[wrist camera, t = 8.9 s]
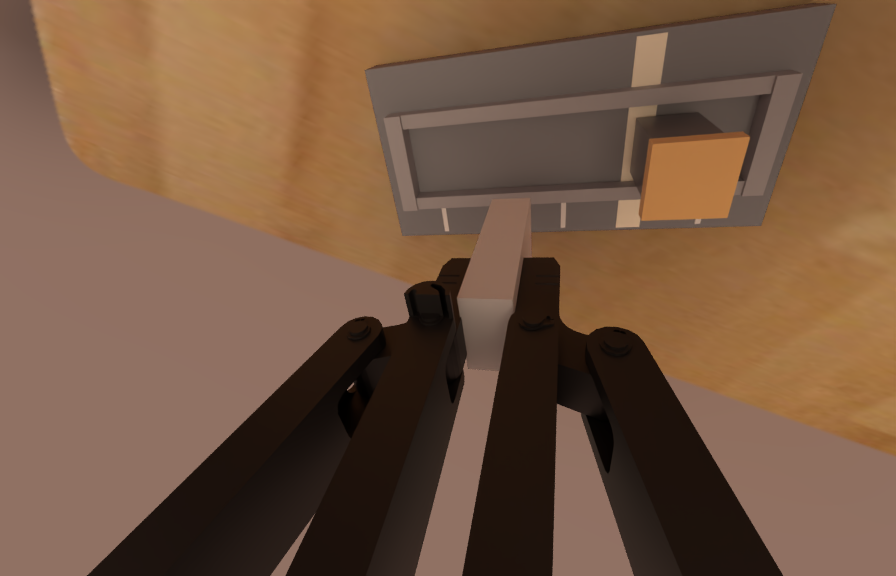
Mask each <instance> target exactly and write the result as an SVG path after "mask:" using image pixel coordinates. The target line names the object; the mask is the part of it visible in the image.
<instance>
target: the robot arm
mask: <svg viewBox="0 0 896 576" xmlns="http://www.w3.org/2000/svg"><path fill="white" fill-rule="evenodd" d="M559 293H560V265H559V264H558V263H557V261H556V260H555V259H554V258H532V246H531V201H530V198H515V199H492V201H491V204H490V207H489V210H488V213H487V215H486V218H485V221H484V224H483V227H482V229H481V232H480V235H479V238H478V240H477V243H476V246H475V249H474V252H473V254H472V257H471V258H452V259H451V260H449V261H448V262H447V263H446V264H445V265H443V267H442V269H441V271H440V273H439V277H438V278H437V280H436V281H426V282H421V283H418V284H415V285H414V286H412V287H410V288H409V289H408V290H407V291H406V292H405V293H404V296H405V300H406V304H407V308H408V312H409V316H410V317H409V319H408V321H407V322H406V323H404V324H400V325H395V326H389V327H384V328H383V327H382V324H381V323H380V321H379V320H378V319H376V318H374V317H366V316H365V317H359V318H355V319H353V320H351V321H348V322H347V323H346V324H344V325H343V326H342V327H340V329H338V330H337V331H336V333H334V334H333V335H332V336H331V337H330V338H329V339H328V340H327V341H326V342H325V343H324V344H323V345H322V346H321V347H320V348H319V349H318V350H317V351H316V352H315V353H314V354H313V355H312V356H311V357H310V358H309V359H308V360H307V361H306V362H305V363H304V364H303V365H302V366H301V367H300V368H299V369H298V370H297V371H296V372H295V373H294V374H293V375H291V377H289V378H288V379H287V380H286V381H285V382H284V383H283V384H282V385H281V386H280V387H279V388H278V389H277V390H276V391H275V392H274V393H273V394H272V395H271V396H270V397H269V398H268V399H267V400H266V401H265V402H264V403H263V404H262V405H261V406H260V407H259V408H258V409H257V410H256V411H255V412H254V413H253V414H252V415H251V416H250V417H249V418H248V419H247V420H246V421H244V423H243V424H241V425H240V426H239V428H237V429H236V430H235V431H234V432H233V433H232V434H231V435H230V436H229V437H228V438H227V439H226V440H225V441H224V442H223V443H222V444H221V445H220V446H219V447H218V448H217V449H216V450H215V451H214V452H213V453H212V454H211V455H210V456H209V457H208V458H207V459H206V460H205V461H204V462H203V463H202V464H201V465H200V466H199V467H198V468H197V469H196V470H194V471H193V473H192V474H190V475H189V476H188V477H187V478H186V479H185V480H184V481H183V482H182V483H181V484H180V485H179V486H178V487H177V488H176V489H175V490H174V491H173V492H172V493H171V494H170V495H169V496H168V497H167V498H166V499H165V500H164V501H163V502H162V503H161V504H160V505H159V506H158V507H157V508H156V509H155V510H154V511H153V512H152V513H151V514H150V515H149V516H148V517H147V518H145V519H144V521H142V523H140V524H139V525H138V526H137V527H136V528H135V529H134V530H133V531H132V532H131V533H130V534H129V535H128V536H127V537H126V538H125V539H124V540H123V541H122V542H121V543H120V544H119V545H118V546H117V547H116V548H115V549H114V550H113V551H112V552H111V553H110V554H109V555H108V556H107V557H106V558H105V559H104V560H103V561H102V562H101V563H100V564H99V565H98V566H97V567H95V568H94V569H93V571H92V572H91V573H89V574H88V575H87V576H270V575H271V574H272V572H273V571H274V570H275V568H276V567H277V565H278V564H279V563H280V561H281V560H282V558H283V557H284V556H285V554H286V553H287V552H288V550H289V549H290V547H291V546H292V544H293V543H294V542H295V540H296V539H297V538H298V536H299V535H300V533H301V532H302V531H303V529H304V528H305V526H306V525H307V524H308V522H309V521H310V520H311V518H312V517H313V515H314V514H315V515H314V517H313V519H312V522H311V524H310V526H309V528H308V530H307V532H306V534H305V536H304V538H303V540H302V543H301V544H300V546H299V549H298V551H297V553H296V555H295V557H294V559H293V561H292V563H291V565H290V568H289V570H288V572H287V574H286V576H415V572H416V568H417V564H418V560H419V556H420V552H421V549H422V544H423V541H424V537H425V533H426V529H427V525H428V521H429V517H430V514H431V510H432V506H433V502H434V498H435V494H436V490H437V486H438V483H439V479H440V475H441V471H442V467H443V463H444V459H445V456H446V451H447V448H448V444H449V440H450V436H451V432H452V428H453V424H454V420H455V417H456V413H457V409H458V405H459V401H460V397H461V393H462V390H463V386H464V371H463V367H464V363H465V359H467V366H468V369H479V370H491V371H499V375H498V381H497V386H496V392H495V398H494V403H493V408H492V414H491V419H490V425H489V431H488V436H487V442H486V447H485V453H484V458H483V464H482V470H481V475H480V480H479V486H478V492H477V497H476V502H475V508H474V513H473V519H472V525H471V530H470V536H469V541H468V547H467V553H466V558H465V563H464V569H463V574H462V576H552V566H553V529H554V489H555V452H556V413H557V404H560V405H562V406H565V407H567V408H570V409H572V410H575V411H577V412H580V413H581V416H582V419H583V423H584V426H585V429H586V432H587V435H588V438H589V441H590V444H591V447H592V450H593V452H594V456H595V459H596V462H597V465H598V468H599V471H600V474H601V477H602V480H603V483H604V486H605V489H606V492H607V495H608V498H609V501H610V504H611V507H612V510H613V513H614V516H615V519H616V523H617V525H618V529H619V532H620V534H621V538H622V540H623V543H624V547H625V550H626V553H627V556H628V559H629V561H630V565H631V567H632V571H633V574H634V576H783V575H782V573H781V571H780V569H779V568H778V566H777V564H776V563H775V561H774V559H773V558H772V556H771V555H770V553H769V551H768V549H767V548H766V546H765V544H764V543H763V541H762V539H761V538H760V536H759V534H758V533H757V531H756V529H755V528H754V526H753V524H752V523H751V521H750V519H749V517H748V516H747V514H746V513H745V511H744V509H743V508H742V506H741V504H740V503H739V501H738V499H737V497H736V496H735V494H734V492H733V491H732V489H731V487H730V486H729V484H728V482H727V481H726V479H725V478H724V476H723V474H722V472H721V471H720V469H719V467H718V466H717V464H716V462H715V461H714V459H713V458H712V455H711V454H710V452H709V450H708V449H707V447H706V445H705V444H704V442H703V440H702V439H701V437H700V435H699V434H698V432H697V430H696V429H695V427H694V425H693V424H692V422H691V420H690V419H689V417H688V415H687V413H686V412H685V410H684V408H683V407H682V405H681V403H680V402H679V400H678V398H677V397H676V395H675V393H674V392H673V390H672V388H671V387H670V385H669V383H668V382H667V380H666V379H665V377H664V375H663V373H662V372H661V370H660V368H659V367H658V365H657V363H656V361H655V360H654V358H653V356H652V355H651V353H650V351H649V350H648V348H647V346H646V345H645V343H644V342H643V340H642V339H641V338H640V337H639V336H638V335H637V334H635V333H633V332H631V331H629V330H627V329H623V328H619V327H603V328H599V329H596V330H595V331H593V332H592V333H590V334H589V335H585V334H582V333H579V332H576V331H574V330H572V329H570V328H568V327H567V326H566V325H565V324H564V323H563V322H562V321H561V319H560V316H559ZM353 382H354V385H353V387H352V388H351V389H349V390H348V391H347V389H348V388H349V387H350V385H351V384H352V383H353Z"/></svg>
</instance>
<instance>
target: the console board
mask: <svg viewBox="0 0 896 576" xmlns="http://www.w3.org/2000/svg"><path fill="white" fill-rule="evenodd" d="M835 7H836V4H826V3H811V4H804V5H797V6H790V7H783V8H776V9H769V10H762V11H755V12H748V13H741V14H734V15H727V16H720V17H712V18H705V19H698V20H691V21H684V22H677V23H670V24H663V25H656V26H649V27H642V28H635V29H628V30H621V31H614V32H607V33H600V34H593V35H586V36H579V37H572V38H565V39H558V40H551V41H544V42H537V43H530V44H523V45H516V46H509V47H502V48H495V49H488V50H481V51H474V52H467V53H460V54H453V55H446V56H439V57H432V58H425V59H418V60H411V61H404V62H397V63H390V64H383V65H376V66H374V67H371V68H369V69H366V70H365V74H366V78H367V83H368V87H369V91H370V96H371V100H372V104H373V109H374V113H375V118H376V122H377V126H378V131H379V135H380V139H381V144H382V148H383V153H384V157H385V161H386V166H387V170H388V174H389V179H390V183H391V188H392V192H393V196H394V201H395V205H396V209H397V214H398V218H399V223H400V227H401V231H402V236H413V235H449V234H480V232H481V229H482V227H483V224H484V221H485V218H486V215H487V213H488V210H489V207H490V204H491V201H492V199H515V198H530V201H531V232H556V231H592V230H628V229H664V228H700V227H735V226H761V224H762V221H763V219H764V216H765V213H766V210H767V207H768V204H769V201H770V198H771V195H772V192H773V189H774V186H775V183H776V180H777V177H778V175H779V172H780V169H781V166H782V163H783V160H784V157H785V154H786V151H787V148H788V145H789V142H790V139H791V136H792V133H793V131H794V128H795V125H796V122H797V119H798V116H799V113H800V110H801V107H802V104H803V101H804V98H805V95H806V92H807V89H808V87H809V84H810V81H811V78H812V75H813V72H814V69H815V66H816V63H817V60H818V57H819V54H820V51H821V48H822V45H823V43H824V40H825V37H826V34H827V31H828V28H829V25H830V22H831V19H832V16H833V13H834V10H835ZM695 112H699V113H700V114H701V115H703V116H704V117H705V118H706V119H708V120H709V121H710V122H711V123H713V124H714V125H715V126H716V127H718V128H719V129H720V130H722V131H723V132H724V133H730V132H742V131H743V132H744V133H746V134H747V135H749V136H750V140H749V143H748V147H747V151H746V154H745V158H744V161H743V165H742V168H741V172H740V175H739V179H738V182H737V186H736V189H735V193H734V196H733V200H732V203H731V207H730V210H729V214H728V217H727V218H713V219H683V220H652V221H641V219H640V216H639V214H638V213H639V206H640V199H641V196H640V193H639V191H638V189H637V187H636V185H635V182H634V180H633V178H632V176H631V173H630V166H631V158H632V150H633V142H634V133H635V125H636V118H640V117H651V116H662V115H673V114H684V113H695Z"/></svg>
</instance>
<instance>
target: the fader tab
mask: <svg viewBox="0 0 896 576" xmlns="http://www.w3.org/2000/svg"><path fill="white" fill-rule="evenodd" d="M749 140H750V136H749V135H747V134H746V133H744V132H743V131H742V132H730V133H724V132H723V131H722V130H720V129H719V128H718V127H716V126H715V125H714V124H713V123H711V122H710V121H709V120H708V119H706V118H705V117H704V116H703V115H701V114H700V113H699V112H695V113H684V114H673V115H662V116H651V117H640V118H636V125H635V133H634V142H633V150H632V158H631V166H630V173H631V176H632V178H633V180H634V182H635V185H636V187H637V189H638V191H639V193H640V196H641V199H640V206H639V213H638V214H639V216H640V219H641V221H652V220H683V219H713V218H727V217H728V214H729V210H730V207H731V203H732V200H733V196H734V193H735V189H736V186H737V182H738V179H739V175H740V172H741V168H742V165H743V161H744V158H745V154H746V151H747V147H748V143H749Z"/></svg>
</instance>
